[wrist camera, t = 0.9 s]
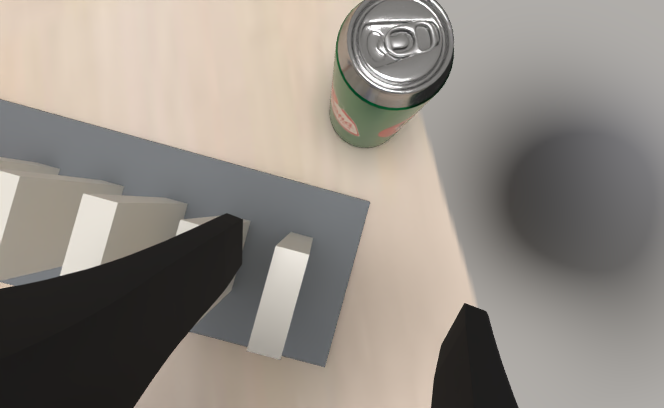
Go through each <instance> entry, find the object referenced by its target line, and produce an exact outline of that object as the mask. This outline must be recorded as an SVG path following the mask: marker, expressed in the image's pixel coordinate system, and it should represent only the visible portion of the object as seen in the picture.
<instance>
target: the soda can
mask: <svg viewBox="0 0 664 408" xmlns="http://www.w3.org/2000/svg"><path fill="white" fill-rule="evenodd" d="M453 59H454V36H453V29H452V26H451V22H450V20H449V18H448V16H447V14H446V12H445V11H444V9H443V8H442V7H441V6H440V4H439V3H438V2H437V1H436V0H364V1H362V2H361V3H359V4H358V5H357V6H356V7H355V8H354V9H352V10H351V12H350V13H349V14H348V15H347V17H346V18H345V20H344V22H343V23H342V25H341V28H340V30H339V33H338V37H337V42H336V50H335V60H334V70H333V81H332V91H331V101H330V119H331V122H332V125H333V127H334V129H335V131H336V132H337V134H338V135H339V136H340V137H341V138H342V139H343V140H345V141H346V142H348V143H349V144H351V145H354V146H357V147H363V148H369V147H375V146H378V145H381V144H383V143H384V142H386V141H387V140H389V139H390V138H391V137H392V136H393V135H394V134H395V133H396V132H397V131H398V130H399V129H400V128H401V127H402V126H403V125H405V124H406V123H407V122H408V121H409V120H410V119H411V118H412V117H413V116H414V115H415V114H416V113H417V112H418V111H419V110H420V109H421V108H422V107H423V106H424V105H425V104H426V103H427V102H428V101H430V100H431V99H432V98H433V97H434V96H435V95H436V94H437V93H438V92H439V90H440V89H441V88H442V87H443V85H444V84H445V82H446V80H447V79H448V77H449V74H450V71H451V69H452V64H453Z"/></svg>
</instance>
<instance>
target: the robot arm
mask: <svg viewBox="0 0 664 408" xmlns="http://www.w3.org/2000/svg"><path fill="white" fill-rule="evenodd" d="M242 248H243V219H241V218H239V217H236V216H233V215H231V214H228V213H226V214H223V215H221V216H219V217H217V218H214V219H212V220H210V221H208V222H206V223H204V224H201V225H199V226H197V227H195V228H193V229H191V230H188V231H186V232H184V233H182V234H179V235H177V236H175V237H173V238H170V239H168V240H166V241H164V242H161V243H159V244H156V245H154V246H151V247H149V248H146V249H144V250H141V251H139V252H136V253H134V254H131V255H128V256H126V257H123V258H120V259H117V260H114V261H111V262H108V263H105V264H102V265H98V266H95V267H92V268H89V269H85V270H81V271H77V272H74V273H70V274H66V275H62V276H58V277H54V278H50V279H46V280H42V281H37V282H33V283H28V284H23V285H18V286H13V287H8V288H2V289H0V408H134V406H135V405H136V403H137V402H138V400H139V399H140V397H141V396H142V394H143V393H144V391H145V390H146V388H147V387H148V385H149V384H150V382H151V381H152V379H153V378H154V377H155V375H156V374H157V372H158V371H159V370H160V368H161V367H162V365H163V364H164V363H165V361H166V360H167V358H168V357H169V356H170V354H171V353H172V352H173V350H174V349H175V348H176V347H177V345H178V344H179V343H180V342H181V340H182V339H183V338H184V337H185V336H186V335H187V334H188V332H189V331H190V330H191V329H192V328H193V327H194V325H195V324H196V323H197V322H198V321H199V320H200V319H201V317H202V316H203V315H204V314H205V313H206V312H207V311H208V309H209V308H210V307H211V306H212V305H213V304H214V302H215V301H216V300H217V299H218V298H219V297H220V295H221V294H222V293H223V292H224V291H225V289H226V288H227V286H228V285H229V284H230V282H231V281H232V279H233V278H234V276H235V275H236V273H237V271H238V270H239V268H240V267H241V265H242ZM431 408H518V405H517V403H516V400H515V398H514V395H513V392H512V390H511V386H510V384H509V381H508V378H507V375H506V373H505V370H504V367H503V364H502V361H501V358H500V354H499V351H498V349H497V345H496V342H495V338H494V335H493V331H492V327H491V324H490V320H489V316H488V314H487V312H486V311H484V310H481V309H479V308H476V307H474V306H471V305H468V304H466V303H464V305H463V307H462V309H461V310H460V312H459V314H458V316H457V318H456V319H455V321H454V323H453V325H452V327H451V328H450V330H449V332H448V334H447V336H446V338H445V339H444V341H443V343H442V345H441V349H440V353H439V358H438V362H437V367H436V372H435V376H434V384H433V394H432V404H431Z"/></svg>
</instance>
